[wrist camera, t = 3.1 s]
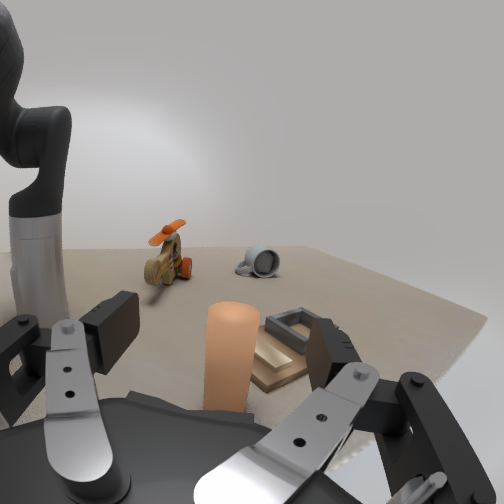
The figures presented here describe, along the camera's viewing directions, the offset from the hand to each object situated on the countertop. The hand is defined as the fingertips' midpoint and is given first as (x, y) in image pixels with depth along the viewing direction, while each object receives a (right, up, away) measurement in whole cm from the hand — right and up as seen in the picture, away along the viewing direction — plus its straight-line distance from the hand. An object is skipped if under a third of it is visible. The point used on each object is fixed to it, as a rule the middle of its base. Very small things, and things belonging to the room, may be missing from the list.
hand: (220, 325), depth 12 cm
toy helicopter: (-17, -4, +47) cm, 50 cm away
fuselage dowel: (-2, -14, +15) cm, 20 cm away
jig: (+6, -11, +28) cm, 31 cm away
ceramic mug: (+2, -3, +63) cm, 63 cm away
